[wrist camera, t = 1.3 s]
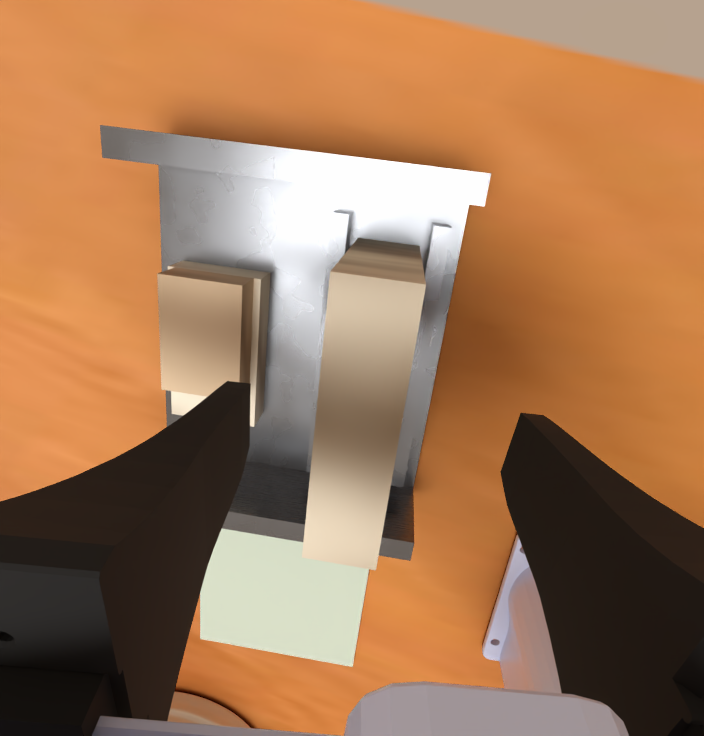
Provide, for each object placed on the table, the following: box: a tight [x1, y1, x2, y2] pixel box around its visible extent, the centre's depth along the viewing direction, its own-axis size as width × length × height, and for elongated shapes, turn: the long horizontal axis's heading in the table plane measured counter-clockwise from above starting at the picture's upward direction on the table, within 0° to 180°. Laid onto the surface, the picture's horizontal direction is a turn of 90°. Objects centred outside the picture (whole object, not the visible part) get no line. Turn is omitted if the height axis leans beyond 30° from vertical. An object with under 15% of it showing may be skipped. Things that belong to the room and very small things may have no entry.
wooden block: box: [302, 238, 426, 570], centre depth 19 cm, size 10×3×8 cm, turn 173°
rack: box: [100, 125, 491, 561], centre depth 21 cm, size 16×13×5 cm
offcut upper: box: [157, 267, 254, 397], centre depth 20 cm, size 5×3×2 cm
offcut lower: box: [168, 261, 270, 427], centre depth 22 cm, size 7×4×2 cm, turn 173°
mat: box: [200, 529, 369, 667], centre depth 29 cm, size 12×10×1 cm
